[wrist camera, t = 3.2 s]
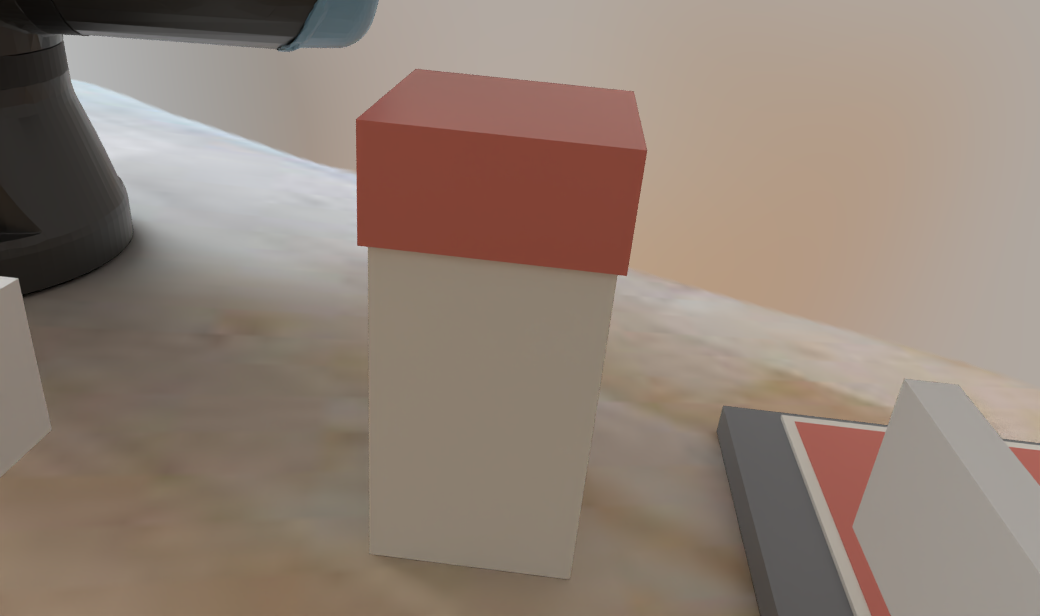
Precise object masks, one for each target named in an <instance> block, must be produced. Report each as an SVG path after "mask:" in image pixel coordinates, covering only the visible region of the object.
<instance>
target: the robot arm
mask: <svg viewBox="0 0 1040 616" xmlns="http://www.w3.org/2000/svg"><path fill="white" fill-rule="evenodd" d="M378 1H379V0H0V477H1V476H2V475H4V474H5V473H6V472H7V471H8V470H9V469H10V468H11V467H12V466H13V465H14V464H15V463H17V462H18V461H19V460H20V459H21V458H22V457H23V456H24V455H25V454H26V453H27V452H28V451H30V450H31V449H32V448H33V447H34V446H35V445H36V444H37V443H38V442H39V441H40V440H41V439H43V438H44V437H45V436H46V435H47V434H48V433H49V432H50V431H51V430H52V428H51V423H50V419H49V414H48V410H47V405H46V401H45V396H44V392H43V387H42V383H41V378H40V374H39V369H38V365H37V360H36V356H35V351H34V347H33V342H32V338H31V333H30V329H29V324H28V320H27V315H26V311H25V306H24V302H23V297H22V294H26V293H30V292H34V291H37V290H41V289H44V288H47V287H51V286H54V285H57V284H60V283H63V282H65V281H68V280H71V279H73V278H76V277H78V276H81V275H83V274H85V273H87V272H90V271H92V270H94V269H96V268H98V267H99V266H101V265H103V264H105V263H106V262H108V261H109V260H111V259H113V258H114V257H115V256H116V255H118V254H119V253H120V252H121V251H122V250H123V249H124V248H125V247H126V246H127V245H128V243H129V242H130V240H131V238H132V235H133V225H132V219H131V212H130V206H129V199H128V194H127V191H126V188H125V186H124V184H123V182H122V180H121V178H120V177H118V176H117V174H116V172H115V169H114V167H113V165H112V163H111V161H110V159H109V157H108V155H107V153H106V151H105V149H104V147H103V145H102V143H101V141H100V139H99V137H98V135H97V133H96V131H95V129H94V127H93V126H92V124H91V122H90V120H89V118H88V116H87V114H86V113H85V111H84V109H83V107H82V105H81V103H80V102H79V100H78V98H77V96H76V94H75V92H74V89H73V86H72V83H71V79H70V74H69V69H68V64H67V59H66V53H65V47H64V42H63V34H65V35H82V36H89V35H93V36H107V37H120V38H134V39H147V40H160V41H175V42H188V43H202V44H215V45H228V46H241V47H255V48H268V49H277V50H278V51H283V52H290V51H294V50H296V49H299V48H342V47H347V46H350V45H352V44H354V43H356V42H357V41H359V40H360V39H361V38H362V37H363V36H364V35H365V34H366V32H367V31H368V29H369V28H370V26H371V24H372V21H373V19H374V16H375V13H376V9H377V5H378ZM852 527H853V530H854V532H855V534H856V537H857V539H858V541H859V544H860V546H861V548H862V550H863V553H864V555H865V557H866V560H867V562H868V564H869V567H870V569H871V571H872V573H873V576H874V578H875V580H876V583H877V585H878V587H879V590H880V592H881V594H882V596H883V599H884V601H885V603H886V606H887V608H888V610H889V613H890V615H891V616H1040V485H1039V484H1038V483H1037V482H1036V480H1035V479H1034V478H1033V477H1032V475H1031V474H1030V473H1029V472H1028V471H1027V469H1026V468H1025V467H1024V466H1023V464H1022V463H1021V462H1020V461H1019V459H1018V458H1017V457H1016V456H1015V454H1014V453H1013V452H1012V451H1011V449H1010V448H1009V447H1008V446H1007V444H1006V443H1005V442H1004V441H1003V439H1002V438H1001V437H1000V436H999V434H998V433H997V432H996V431H995V429H994V428H993V427H992V426H991V425H990V423H989V422H988V421H987V420H986V418H985V417H984V416H983V415H982V413H981V412H980V411H979V410H978V408H977V407H976V406H975V405H974V403H973V402H972V401H971V400H970V398H969V397H968V396H967V395H966V393H965V392H964V391H963V390H962V388H961V387H960V386H959V385H956V384H947V383H938V382H930V381H921V380H912V379H904V381H903V384H902V387H901V389H900V392H899V395H898V398H897V401H896V404H895V406H894V409H893V412H892V415H891V418H890V421H889V423H888V426H887V429H886V432H885V435H884V438H883V440H882V443H881V446H880V449H879V452H878V455H877V457H876V460H875V463H874V466H873V469H872V472H871V475H870V477H869V480H868V483H867V486H866V489H865V492H864V494H863V497H862V500H861V503H860V506H859V509H858V511H857V514H856V517H855V520H854V523H853V526H852Z"/></svg>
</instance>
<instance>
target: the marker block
mask: <svg viewBox="0 0 1040 616" xmlns="http://www.w3.org/2000/svg"><path fill="white" fill-rule="evenodd" d="M356 149H357V150H356V155H357V246H366V247H368V359H369V554H374V555H382V556H390V557H397V558H405V559H413V560H421V561H429V562H436V563H444V564H452V565H460V566H468V567H476V568H483V569H491V570H499V571H507V572H515V573H522V574H530V575H538V576H546V577H554V578H562V579H569V580H570V576H571V569H572V563H573V557H574V550H575V544H576V537H577V531H578V525H579V518H580V512H581V505H582V499H583V493H584V486H585V480H586V473H587V467H588V460H589V454H590V448H591V441H592V435H593V428H594V422H595V416H596V409H597V403H598V396H599V390H600V384H601V377H602V371H603V364H604V358H605V352H606V345H607V339H608V332H609V326H610V320H611V313H612V307H613V300H614V294H615V287H616V281H617V275H624V276H627V271H628V265H629V259H630V253H631V247H632V240H633V234H634V228H635V222H636V216H637V209H638V203H639V197H640V191H641V185H642V179H643V173H644V166H645V160H646V154H647V148H646V143H645V139H644V134H643V130H642V126H641V121H640V117H639V112H638V108H637V103H636V99H635V95H634V92H633V91H624V90H615V89H604V88H595V87H586V86H575V85H566V84H557V83H547V82H538V81H528V80H518V79H508V78H498V77H489V76H479V75H470V74H459V73H450V72H440V71H431V70H422V69H415V70H414V71H413V72H411V73H410V74H409V75H408V76H407V77H406V78H404V79H403V80H402V81H401V82H400V83H398V84H397V85H396V86H395V87H394V88H393V89H391V90H390V91H389V92H388V93H387V94H386V95H384V96H383V97H382V98H381V99H380V100H378V101H377V102H376V103H375V104H374V105H373V106H371V107H370V108H369V109H368V110H367V111H365V112H364V113H363V114H362V115H361V116H360V117H358V118H357V119H356Z"/></svg>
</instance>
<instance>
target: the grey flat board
mask: <svg viewBox="0 0 1040 616" xmlns="http://www.w3.org/2000/svg"><path fill="white" fill-rule="evenodd" d="M887 426H888V425H882V424H873V423H865V422H856V421H848V420H839V419H831V418H823V417H814V416H806V415H797V414H789V413H780V412H772V411H764V410H755V409H747V408H738V407H730V406H723V408H722V412H721V416H720V420H719V424H718V428H717V434H718V438H719V443H720V447H721V451H722V455H723V459H724V464H725V468H726V472H727V476H728V480H729V485H730V489H731V493H732V497H733V501H734V506H735V510H736V514H737V518H738V523H739V527H740V531H741V535H742V539H743V544H744V548H745V552H746V556H747V560H748V565H749V569H750V573H751V577H752V581H753V586H754V590H755V594H756V598H757V602H758V607H759V611H760V615H761V616H891V615H890V613H889V610H888V608H887V606H886V603H885V601H884V599H883V596H882V594H881V592H880V590H879V587H878V585H877V583H876V580H875V578H874V576H873V573H872V571H871V569H870V567H869V564H868V562H867V560H866V557H865V555H864V553H863V550H862V548H861V546H860V544H859V541H858V539H857V537H856V534H855V532H854V530H853V527H852V526H853V523H854V520H855V517H856V514H857V511H858V509H859V506H860V503H861V500H862V497H863V494H864V492H865V489H866V486H867V483H868V480H869V477H870V475H871V472H872V469H873V466H874V463H875V460H876V457H877V455H878V452H879V449H880V446H881V443H882V440H883V438H884V435H885V432H886V429H887ZM1003 441H1004V442H1005V443H1006V444H1007V446H1008V447H1009V448H1010V449H1011V451H1012V452H1013V453H1014V454H1015V456H1016V457H1017V458H1018V459H1019V461H1020V462H1021V463H1022V464H1023V466H1024V467H1025V468H1026V469H1027V471H1028V472H1029V473H1030V474H1031V475H1032V477H1033V478H1034V479H1035V480H1036V482H1037V483H1038V484H1039V485H1040V443H1033V442H1025V441H1016V440H1008V439H1003Z"/></svg>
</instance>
